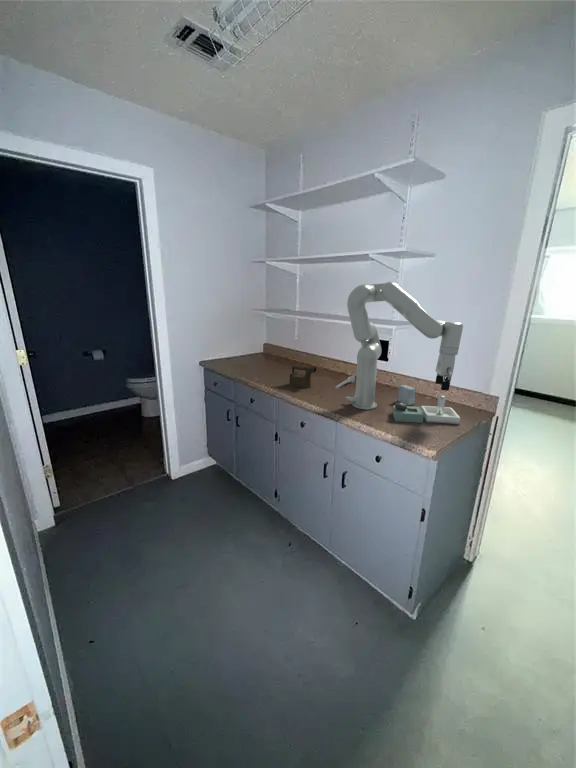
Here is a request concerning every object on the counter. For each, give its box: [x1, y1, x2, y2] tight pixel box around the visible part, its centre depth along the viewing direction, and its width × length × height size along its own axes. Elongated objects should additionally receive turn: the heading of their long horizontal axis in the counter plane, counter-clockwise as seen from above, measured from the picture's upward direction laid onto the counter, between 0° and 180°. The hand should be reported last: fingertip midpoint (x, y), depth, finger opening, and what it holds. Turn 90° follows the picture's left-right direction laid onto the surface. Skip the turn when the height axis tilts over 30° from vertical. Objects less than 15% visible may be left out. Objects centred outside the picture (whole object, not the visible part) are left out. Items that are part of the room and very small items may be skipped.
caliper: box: [333, 372, 356, 390], centre depth 204 cm, size 20×1×6 cm, turn 137°
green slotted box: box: [391, 402, 424, 424], centre depth 154 cm, size 12×10×7 cm
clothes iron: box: [289, 364, 317, 389], centre depth 200 cm, size 8×16×13 cm, turn 56°
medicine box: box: [397, 384, 417, 406], centre depth 174 cm, size 8×4×9 cm, turn 26°
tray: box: [420, 405, 461, 425], centre depth 155 cm, size 14×13×3 cm
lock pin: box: [436, 394, 447, 416], centre depth 154 cm, size 3×3×10 cm
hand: (441, 386), depth 152 cm, fingers open, 9 cm apart
